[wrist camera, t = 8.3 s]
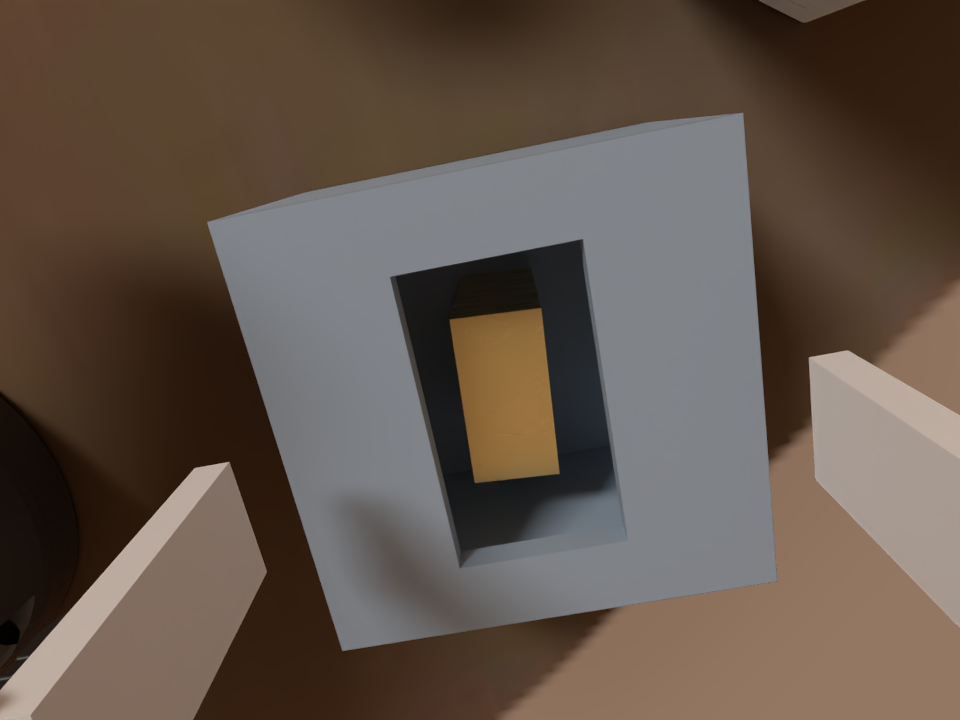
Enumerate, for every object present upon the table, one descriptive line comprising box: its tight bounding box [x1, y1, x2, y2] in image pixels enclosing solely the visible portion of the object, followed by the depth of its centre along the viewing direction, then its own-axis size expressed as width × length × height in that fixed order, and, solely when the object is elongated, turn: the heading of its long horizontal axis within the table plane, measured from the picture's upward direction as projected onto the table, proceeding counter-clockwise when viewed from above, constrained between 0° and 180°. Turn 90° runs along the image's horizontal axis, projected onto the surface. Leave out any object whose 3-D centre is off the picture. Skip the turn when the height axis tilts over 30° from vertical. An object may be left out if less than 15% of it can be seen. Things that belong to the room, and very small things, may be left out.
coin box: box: [207, 113, 777, 651], centre depth 21 cm, size 12×12×9 cm
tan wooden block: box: [449, 267, 560, 483], centre depth 22 cm, size 2×5×6 cm, turn 8°
